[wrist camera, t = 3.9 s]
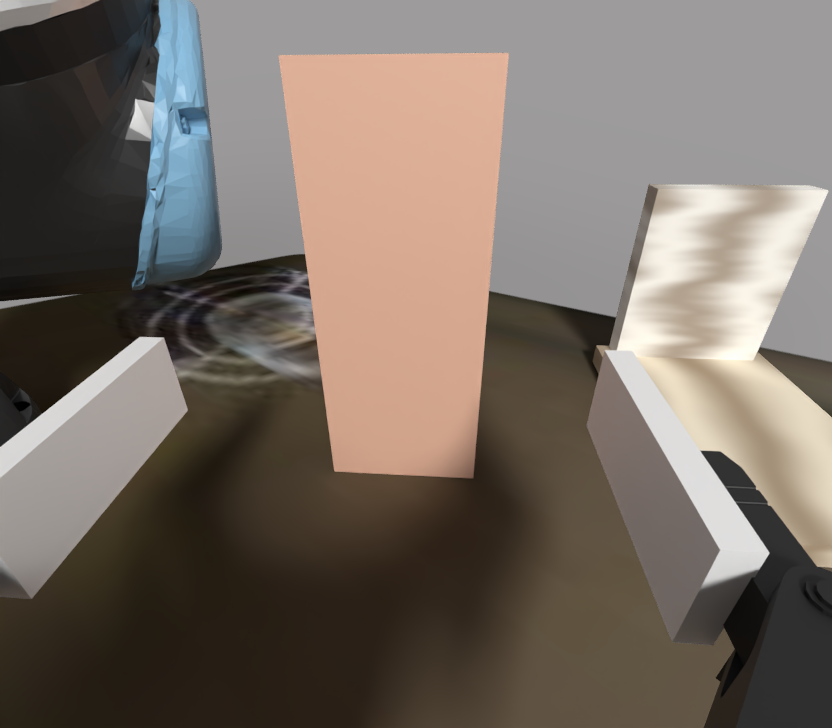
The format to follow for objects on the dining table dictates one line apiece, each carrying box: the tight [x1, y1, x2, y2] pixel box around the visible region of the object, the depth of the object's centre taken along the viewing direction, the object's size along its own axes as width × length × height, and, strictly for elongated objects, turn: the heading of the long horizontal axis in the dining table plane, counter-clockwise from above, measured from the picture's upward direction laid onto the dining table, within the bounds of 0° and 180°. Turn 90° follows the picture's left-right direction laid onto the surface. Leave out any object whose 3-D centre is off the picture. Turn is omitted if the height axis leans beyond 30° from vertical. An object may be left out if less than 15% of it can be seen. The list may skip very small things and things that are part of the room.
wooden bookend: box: [593, 184, 832, 568], centre depth 25 cm, size 12×18×14 cm, turn 176°
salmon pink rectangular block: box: [279, 53, 509, 478], centre depth 23 cm, size 8×5×20 cm, turn 86°
